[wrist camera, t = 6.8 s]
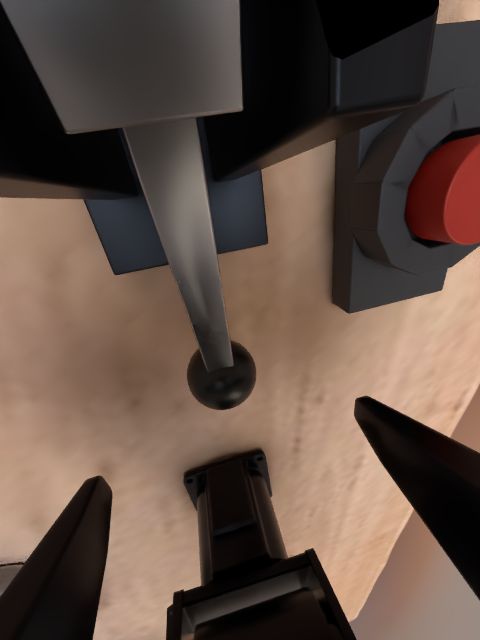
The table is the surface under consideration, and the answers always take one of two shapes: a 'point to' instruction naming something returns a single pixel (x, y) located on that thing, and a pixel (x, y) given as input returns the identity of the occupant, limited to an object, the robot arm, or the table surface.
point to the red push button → (447, 194)
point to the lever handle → (154, 132)
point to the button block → (402, 182)
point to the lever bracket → (227, 118)
